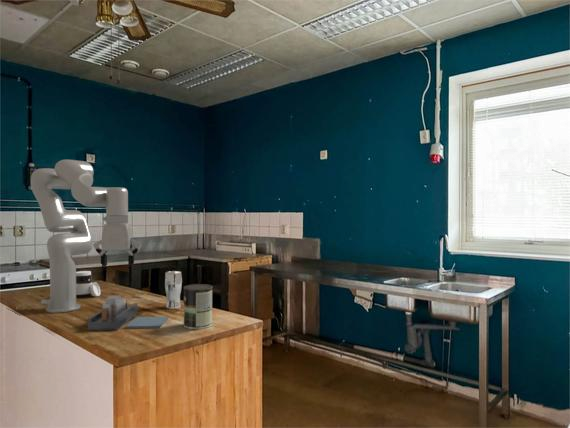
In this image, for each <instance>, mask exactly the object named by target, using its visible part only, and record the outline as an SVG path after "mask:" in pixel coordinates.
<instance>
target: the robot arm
mask: <svg viewBox="0 0 570 428" xmlns="http://www.w3.org/2000/svg"><path fill="white" fill-rule="evenodd" d="M94 174H95V173H94V167H93V166H92V164H91V163H90V162H88V161H84V160H76V159H61V160H59V161H57V162H56V163H55V166H54V168H49V167H47V168H46V167H45V168H38V169H35V170H34V171H33V172H32V173H31V176H30V188H31V191H32V193H33V195H34V197H35V199H36V201H37V203H38V206H39V209H40V211H41V217H42V218H43V221H44V226H45V228H46V230H47V231H48V232H50V233H56V234H54V235H51V236H50V237H49V238H48V239H47V241H46V249H47V254H48V258H49V291H50V293H49V299H41V302H40V305H41V306H47V307H46V308H45V311H46V312H47V313H50V314H51V313H52V314H53V313H54V314H55V313H56V314H57V313H59V314H60V313H68V312H72V311H76V310H79V309H81V304H80V303H77V298H76V272H77V266H76V263H75V261H74V260H73V259H72V257H73V256H81V255H85V254H89V253H90V252H91V251H92V248H93V247H94V249H95V251H96V253H98V256H100V264H101V267H102V268H103V267H107V266H108V255H107V253H108V252H126V253H128V257H127V262H128V267H132V266H133V265H134V264H135V255H136V254H137V252H139V250H140V249H141V246H142V243H141V242H140V241H137V240H135V239H133V233H132V228H131V227H132V226H131V224H130V223H129V191H128V189H127V188H125V187H119V186H118V187H113V186H112V187H111V186H110V187H105V186H104V187H103V186H92V185H93V183H94ZM54 189H57V190H71V196H72V198H74V199H75V200H76V201H77V202H79V204H81V205H82V206H85V207H89V208H100V207H101V208H105V209H106V210H105V211H106V212H105V213H106V214H105V217H102V221H103V222H105V224H103V226H102V234H101V240H98V241H97V242H95V243H93V238H92V235H91V231H90V227H89V226H88V221H87V219H86V217H85V215H84V214H83V213H82V212H81V211H79V210H76V209H65V207H64V204H63V203H64V202H63V200H62V198H61V197H60V196H59V195H58V194H57V193H56V192H55V191H54ZM133 245H135V248H134V249H133ZM100 246H101V247H100Z"/></svg>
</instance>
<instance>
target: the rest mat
mask: <svg viewBox="0 0 570 428" xmlns="http://www.w3.org/2000/svg"><path fill="white" fill-rule="evenodd" d="M168 319H169V316H136V317H133V318H132V319H131V321H130V322H129V323H128V322H127V323H126V324H125V326H124V329H126V330H127V329H160V328H161V327H162V326H163V325H164V324H165V323H166V322H167V320H168Z"/></svg>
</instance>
